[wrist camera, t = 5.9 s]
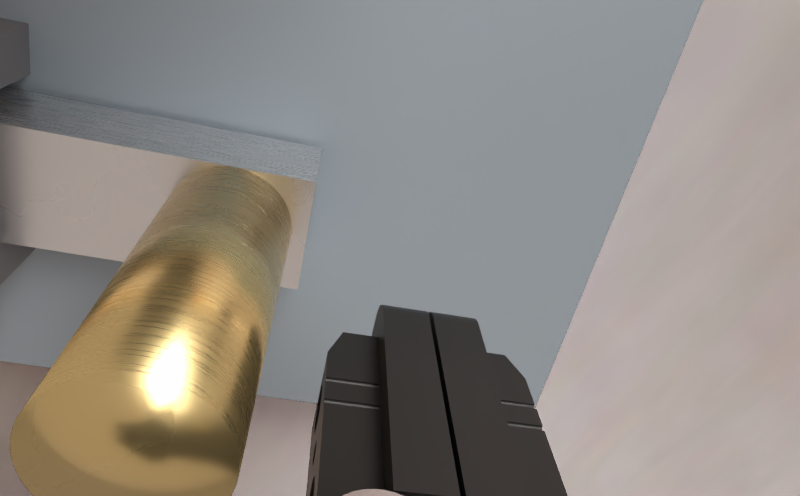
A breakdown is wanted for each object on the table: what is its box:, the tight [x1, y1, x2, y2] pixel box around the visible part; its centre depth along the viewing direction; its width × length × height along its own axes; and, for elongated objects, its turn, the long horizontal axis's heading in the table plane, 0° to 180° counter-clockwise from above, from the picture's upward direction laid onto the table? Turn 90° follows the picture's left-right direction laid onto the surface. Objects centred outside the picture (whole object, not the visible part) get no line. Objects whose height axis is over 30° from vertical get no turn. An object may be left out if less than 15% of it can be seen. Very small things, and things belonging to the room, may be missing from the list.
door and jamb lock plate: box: [0, 0, 703, 409], centre depth 13 cm, size 22×12×6 cm, turn 78°
